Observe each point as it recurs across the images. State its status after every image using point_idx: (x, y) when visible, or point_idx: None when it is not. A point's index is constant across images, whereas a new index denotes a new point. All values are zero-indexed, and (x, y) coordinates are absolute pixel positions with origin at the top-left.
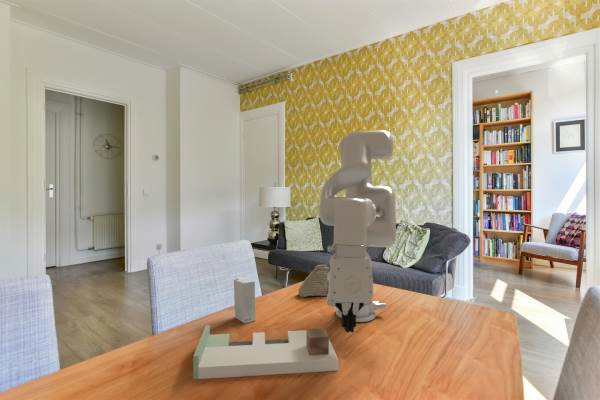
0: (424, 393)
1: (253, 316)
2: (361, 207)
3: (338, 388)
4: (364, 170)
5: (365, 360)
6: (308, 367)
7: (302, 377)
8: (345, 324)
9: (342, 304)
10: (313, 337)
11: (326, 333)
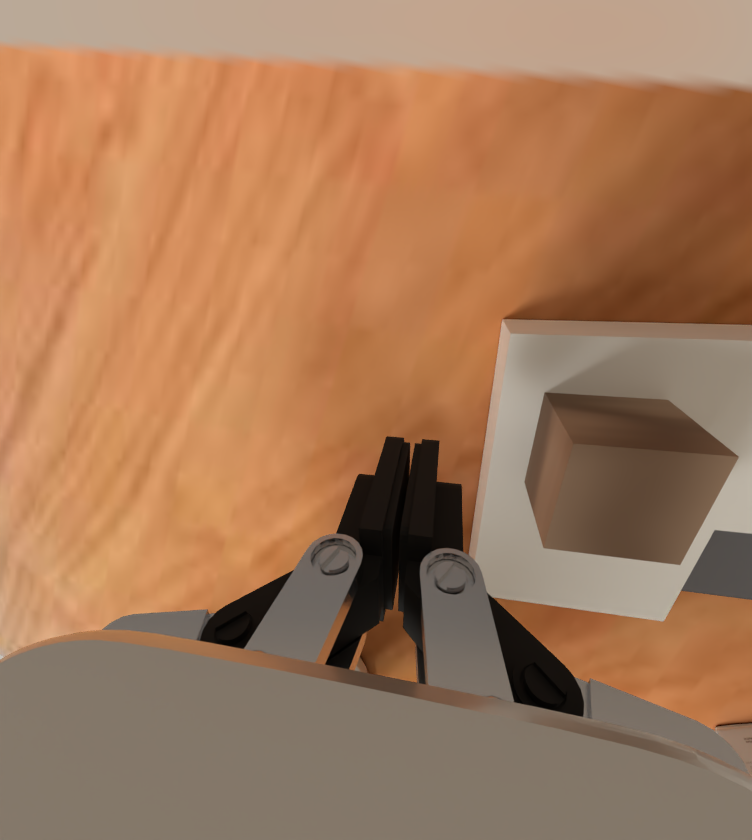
0: (132, 62)
1: (739, 749)
2: None
3: (568, 146)
4: None
5: (343, 382)
6: (684, 329)
7: (728, 280)
8: (441, 493)
9: (497, 685)
10: (697, 458)
11: (566, 490)
